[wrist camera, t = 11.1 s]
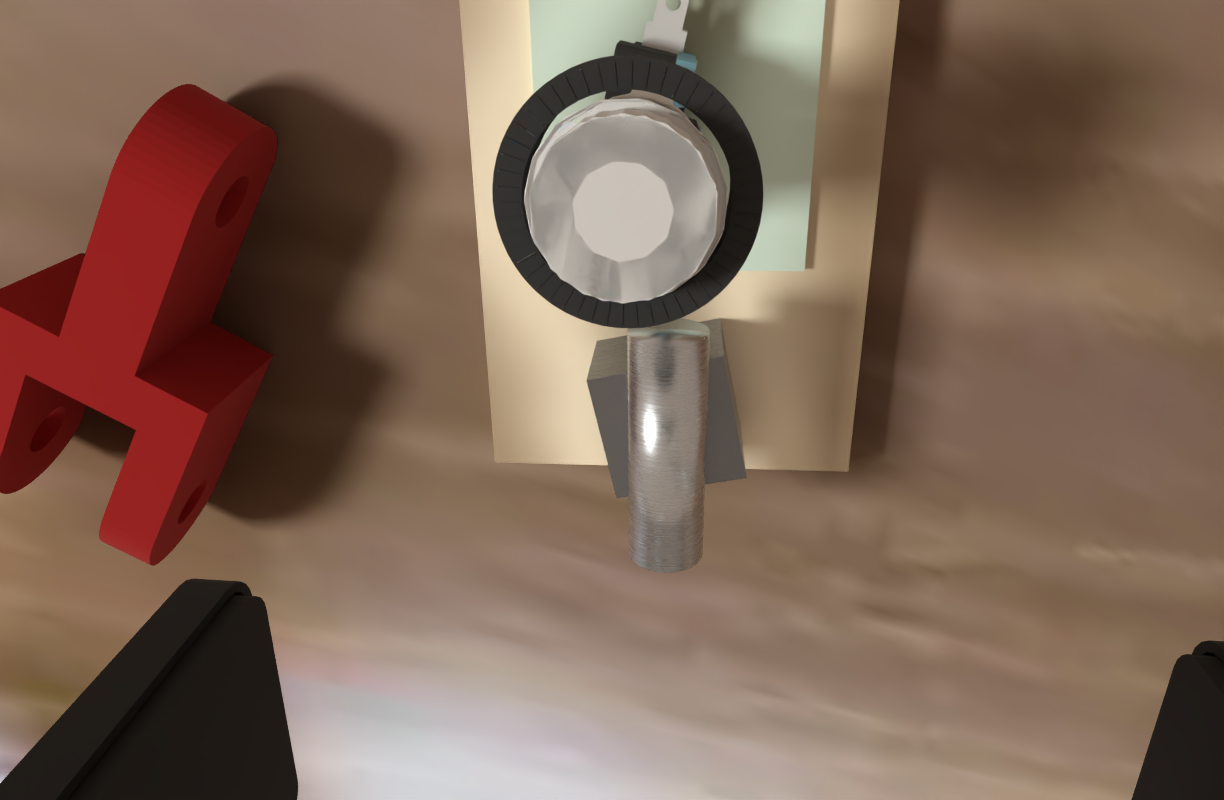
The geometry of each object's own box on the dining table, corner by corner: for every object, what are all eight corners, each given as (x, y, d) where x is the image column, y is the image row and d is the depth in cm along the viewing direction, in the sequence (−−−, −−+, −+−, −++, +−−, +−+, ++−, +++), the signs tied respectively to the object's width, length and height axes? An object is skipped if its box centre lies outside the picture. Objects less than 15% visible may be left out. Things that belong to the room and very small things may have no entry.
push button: (584, -41, 24) (521, -57, 15) (777, 6, 24) (829, 19, 15) (539, 201, 27) (462, 310, 18) (712, 242, 27) (723, 372, 18)
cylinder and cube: (788, -487, 20) (819, -636, 15) (738, 481, 31) (747, 575, 26) (578, -475, 21) (543, -618, 16) (599, 477, 31) (583, 569, 26)
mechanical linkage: (204, 514, 35) (133, 592, 31) (29, 427, 34) (-72, 495, 30) (362, 155, 29) (302, 188, 24) (153, 35, 28) (48, 45, 23)
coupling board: (933, -438, 22) (954, -472, 20) (841, 450, 32) (849, 475, 30) (441, -413, 23) (422, -444, 21) (503, 442, 33) (493, 466, 31)
